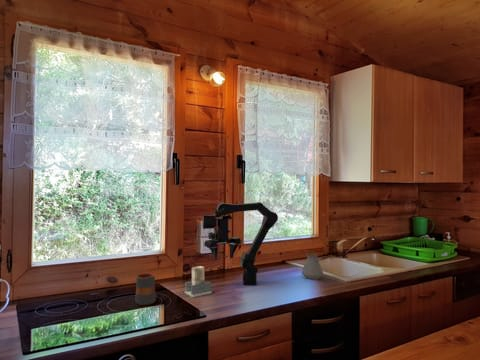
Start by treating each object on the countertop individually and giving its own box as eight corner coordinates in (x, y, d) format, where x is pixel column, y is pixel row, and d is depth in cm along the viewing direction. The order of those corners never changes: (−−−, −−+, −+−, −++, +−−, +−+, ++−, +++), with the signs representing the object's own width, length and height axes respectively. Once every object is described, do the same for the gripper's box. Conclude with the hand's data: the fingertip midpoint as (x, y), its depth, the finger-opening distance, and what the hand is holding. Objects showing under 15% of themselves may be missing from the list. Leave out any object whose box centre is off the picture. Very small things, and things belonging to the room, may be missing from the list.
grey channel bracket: (203, 289, 183) (203, 278, 183) (211, 293, 176) (211, 282, 176) (184, 292, 177) (184, 282, 177) (192, 297, 171) (192, 286, 171)
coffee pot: (297, 276, 204) (297, 249, 204) (313, 274, 210) (313, 247, 210) (323, 286, 186) (323, 256, 186) (341, 283, 191) (341, 253, 191)
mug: (150, 296, 173) (150, 270, 173) (158, 303, 162) (158, 276, 162) (131, 299, 169) (131, 273, 168) (138, 307, 158) (137, 279, 158)
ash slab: (201, 289, 179) (201, 266, 179) (204, 290, 177) (204, 267, 177) (191, 291, 177) (191, 267, 176) (194, 292, 174) (194, 268, 174)
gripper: (229, 225, 201) (229, 254, 201) (198, 228, 190) (198, 258, 190) (241, 227, 192) (241, 258, 192) (210, 230, 181) (210, 263, 181)
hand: (223, 259), depth 189 cm, fingers open, 9 cm apart
